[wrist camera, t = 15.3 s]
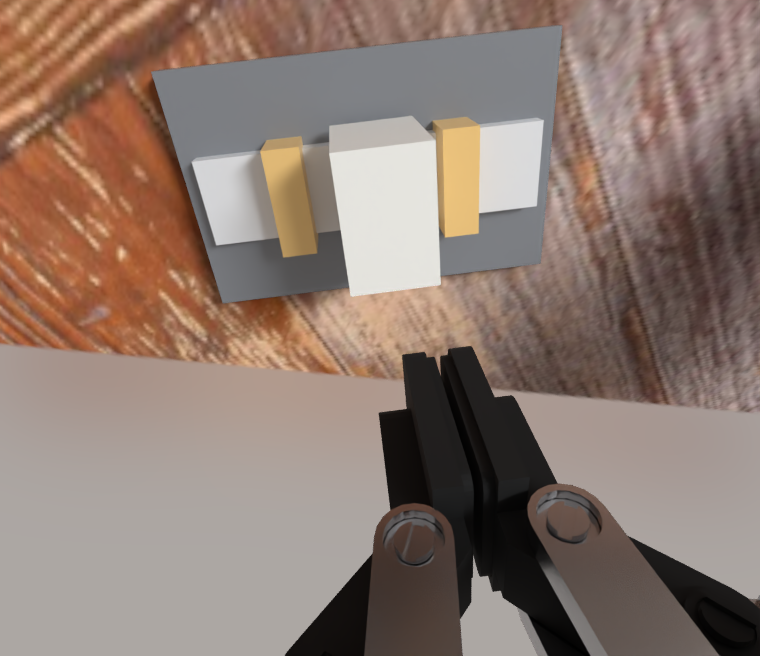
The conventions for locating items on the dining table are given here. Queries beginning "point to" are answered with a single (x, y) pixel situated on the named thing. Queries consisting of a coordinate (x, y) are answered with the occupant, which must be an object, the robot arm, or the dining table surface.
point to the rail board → (351, 105)
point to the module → (386, 204)
